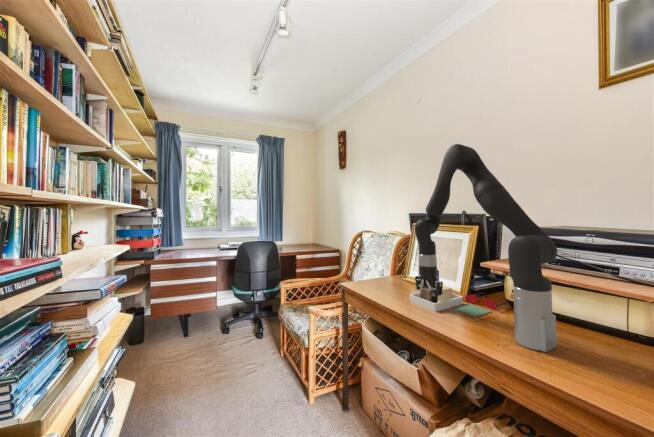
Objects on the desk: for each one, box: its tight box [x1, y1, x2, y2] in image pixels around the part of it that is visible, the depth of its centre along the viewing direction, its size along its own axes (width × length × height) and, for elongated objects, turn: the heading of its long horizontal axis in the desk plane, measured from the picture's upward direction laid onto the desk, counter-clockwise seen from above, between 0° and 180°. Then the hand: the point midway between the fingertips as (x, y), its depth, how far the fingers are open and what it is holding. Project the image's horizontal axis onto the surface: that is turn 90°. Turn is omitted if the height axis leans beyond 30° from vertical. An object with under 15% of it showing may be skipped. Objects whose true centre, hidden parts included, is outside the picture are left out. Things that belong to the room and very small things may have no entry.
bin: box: [409, 291, 464, 313], centre depth 118 cm, size 15×17×4 cm
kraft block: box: [438, 285, 453, 302], centre depth 120 cm, size 5×5×6 cm
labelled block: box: [419, 287, 435, 302], centre depth 116 cm, size 5×5×7 cm
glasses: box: [463, 292, 509, 311], centre depth 115 cm, size 14×16×5 cm
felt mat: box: [452, 303, 493, 318], centre depth 107 cm, size 10×10×1 cm
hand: (429, 302), depth 116 cm, fingers open, 5 cm apart
